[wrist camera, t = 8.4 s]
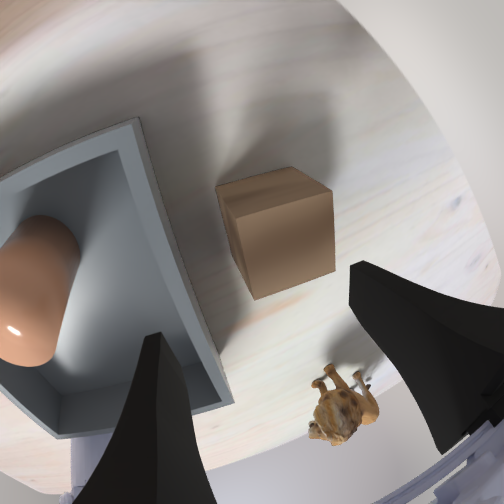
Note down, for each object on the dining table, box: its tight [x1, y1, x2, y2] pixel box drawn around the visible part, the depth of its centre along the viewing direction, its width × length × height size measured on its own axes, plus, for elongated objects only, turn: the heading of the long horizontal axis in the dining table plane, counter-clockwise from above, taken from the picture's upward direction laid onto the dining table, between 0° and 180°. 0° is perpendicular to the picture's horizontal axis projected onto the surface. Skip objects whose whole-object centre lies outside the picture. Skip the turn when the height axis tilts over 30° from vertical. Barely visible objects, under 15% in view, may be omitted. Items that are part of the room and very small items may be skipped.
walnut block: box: [215, 167, 335, 301], centre depth 17 cm, size 5×5×5 cm
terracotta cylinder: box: [0, 215, 80, 367], centre depth 12 cm, size 5×5×7 cm
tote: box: [0, 117, 235, 439], centre depth 16 cm, size 20×17×5 cm
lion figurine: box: [308, 364, 379, 446], centre depth 30 cm, size 15×5×9 cm, turn 58°
